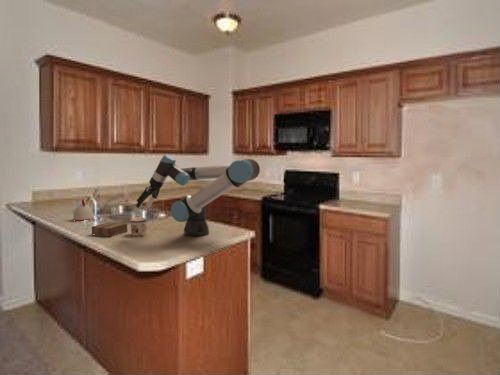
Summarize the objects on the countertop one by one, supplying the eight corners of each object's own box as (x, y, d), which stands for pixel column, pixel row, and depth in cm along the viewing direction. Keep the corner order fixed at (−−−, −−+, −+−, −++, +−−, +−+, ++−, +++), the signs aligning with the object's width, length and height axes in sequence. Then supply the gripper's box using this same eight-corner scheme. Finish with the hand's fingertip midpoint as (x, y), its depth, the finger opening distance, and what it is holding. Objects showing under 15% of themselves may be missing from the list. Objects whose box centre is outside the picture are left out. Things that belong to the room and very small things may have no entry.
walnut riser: (127, 231, 205) (127, 223, 204) (110, 237, 191) (110, 228, 191) (109, 230, 209) (108, 222, 209) (91, 235, 196) (91, 226, 196)
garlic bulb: (92, 217, 250) (91, 197, 248) (96, 220, 239) (95, 200, 237) (72, 219, 242) (70, 199, 240) (75, 222, 231) (73, 201, 229)
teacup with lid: (127, 234, 198) (127, 215, 196) (140, 231, 205) (140, 213, 204) (140, 237, 191) (139, 217, 189) (153, 234, 198) (152, 215, 197)
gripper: (163, 172, 203) (148, 200, 209) (141, 178, 179) (124, 209, 185) (173, 179, 202) (157, 207, 208) (152, 186, 178) (135, 217, 184)
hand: (142, 208), depth 196 cm, fingers open, 13 cm apart
